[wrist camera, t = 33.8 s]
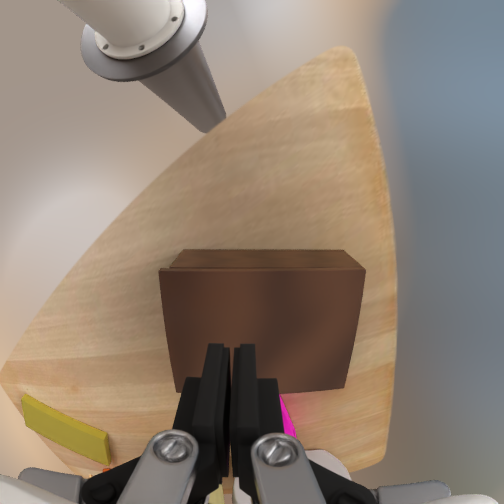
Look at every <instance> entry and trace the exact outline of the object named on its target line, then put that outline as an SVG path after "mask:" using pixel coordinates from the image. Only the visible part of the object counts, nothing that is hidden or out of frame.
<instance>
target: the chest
mask: <svg viewBox="0 0 504 504" xmlns="http://www.w3.org/2000/svg"><path fill="white" fill-rule="evenodd" d="M343 267H362V266H361V265H360V264H359V263H358V262H357V261H355V260H354V259H353V258H352V257H351V256H350V255H349V254H347V253H346V252H345V251H344V250H183V251H182V252H181V253H180V255H179V256H178V257H177V258H176V260H175V261H174V262H173V263H172V265H171V266H170V267H169V268H192V269H252V268H343Z"/></svg>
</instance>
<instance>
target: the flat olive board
mask: <svg viewBox="0 0 504 504" xmlns="http://www.w3.org/2000/svg"><path fill="white" fill-rule="evenodd" d="M21 402H22V408H23V414H24V419H25V424H26V426H27V427H29V428H30V429H32V430H34V431H36V432H37V433H39V434H41V435H43V436H44V437H46V438H48V439H50V440H52V441H54V442H56V443H58V444H60V445H62V446H64V447H66V448H68V449H70V450H72V451H74V452H76V453H78V454H81V455H83V456H85V457H87V458H90V459H92V460H95V461H97V462H99V463H102V464H105V465H107V466H109V464H110V462H111V455H110V449H109V443H108V436H107V433H106V432H104V431H101V430H99V429H96V428H94V427H91V426H89V425H87V424H84V423H82V422H80V421H77V420H75V419H73V418H71V417H69V416H67V415H65V414H63V413H60V412H58V411H56V410H54V409H53V408H51V407H49V406H47V405H45V404H43V403H41V402H39V401H38V400H36V399H34V398H32V397H30V396H29V395H27V394H25V395H24V396H23V397H22V399H21Z"/></svg>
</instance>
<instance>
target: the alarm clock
mask: <svg viewBox="0 0 504 504" xmlns="http://www.w3.org/2000/svg"><path fill="white" fill-rule="evenodd" d="M305 453H306V455H307V458H308V459H310V460H312V461H314V462H315V463H317V464H319V465H321V466H323V467H325V468H327V469H329V470H331V471H333V472H334V473H336V474H338V475H341V476H343V477H345V478H347V479H349V480H351V478H350V476H349V473H348V471H347V469H346V468H345V466H344V465H343V464H342V463H341V462H340V461H339V459H337V458H336V457H334V456H333V455H332V454H330V453H329V452H327V451H325V450H308V451H305ZM232 503H233V504H251V497H250V496H249V495H247V494H246V493H245V492H243V491H242V490H241V489H239V477H235V480H234V485H233V494H232Z"/></svg>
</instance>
